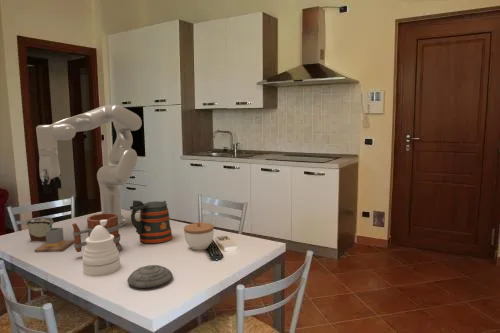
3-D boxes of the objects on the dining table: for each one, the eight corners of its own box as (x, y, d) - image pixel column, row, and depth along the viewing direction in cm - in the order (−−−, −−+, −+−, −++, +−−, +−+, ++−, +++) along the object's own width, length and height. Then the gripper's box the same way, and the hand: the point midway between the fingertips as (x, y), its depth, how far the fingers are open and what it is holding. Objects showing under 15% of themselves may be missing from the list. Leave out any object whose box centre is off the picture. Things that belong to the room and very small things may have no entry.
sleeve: (64, 242, 171) (62, 227, 170) (58, 246, 166) (57, 230, 165) (52, 243, 171) (51, 227, 170) (46, 246, 166) (45, 231, 165)
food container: (60, 237, 182) (58, 217, 181) (52, 241, 176) (50, 220, 175) (36, 237, 183) (34, 217, 182) (27, 241, 177) (25, 220, 176)
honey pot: (108, 259, 152) (105, 215, 150) (127, 267, 144) (123, 220, 142) (76, 270, 142) (72, 223, 140) (94, 278, 134) (90, 229, 132)
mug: (128, 250, 163) (125, 215, 161) (82, 262, 149) (79, 225, 147) (113, 242, 172) (110, 210, 171) (68, 254, 159) (65, 219, 157)
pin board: (75, 242, 175) (74, 227, 174) (62, 251, 163) (61, 235, 162) (48, 242, 174) (47, 228, 174) (34, 252, 163) (32, 236, 162)
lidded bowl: (219, 244, 167) (218, 219, 166) (204, 254, 156) (203, 227, 154) (195, 241, 173) (194, 217, 171) (178, 250, 161) (177, 224, 160)
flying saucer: (118, 285, 129) (116, 269, 128) (150, 269, 142) (150, 255, 141) (150, 295, 121) (148, 278, 120) (181, 277, 134) (181, 262, 133)
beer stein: (145, 249, 163) (142, 203, 160) (124, 243, 172) (121, 199, 169) (178, 237, 178) (176, 195, 175) (158, 232, 187) (155, 192, 184)
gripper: (49, 151, 178) (53, 187, 180) (29, 155, 161) (34, 195, 163) (65, 150, 178) (69, 186, 181) (48, 154, 161) (52, 194, 164)
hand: (53, 190), depth 172 cm, fingers open, 9 cm apart
